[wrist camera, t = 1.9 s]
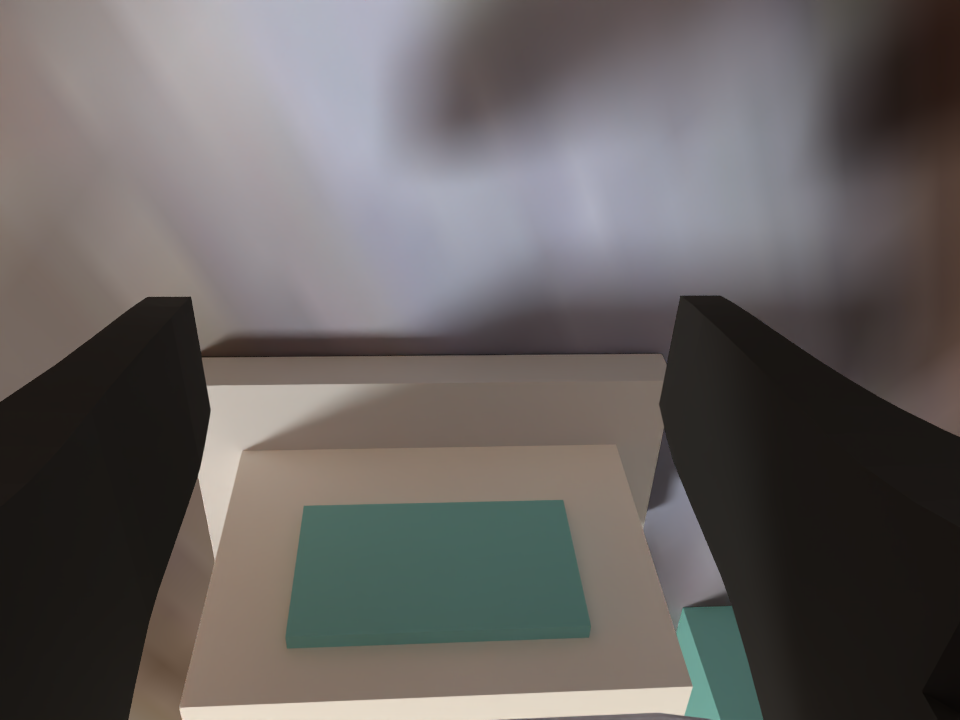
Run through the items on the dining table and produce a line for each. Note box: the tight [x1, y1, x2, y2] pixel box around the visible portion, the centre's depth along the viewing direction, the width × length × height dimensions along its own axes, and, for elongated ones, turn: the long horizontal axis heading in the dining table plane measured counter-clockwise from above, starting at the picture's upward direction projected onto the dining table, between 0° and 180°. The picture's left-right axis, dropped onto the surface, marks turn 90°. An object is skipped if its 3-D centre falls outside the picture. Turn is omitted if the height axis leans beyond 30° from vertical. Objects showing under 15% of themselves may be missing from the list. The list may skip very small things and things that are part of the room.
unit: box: [179, 354, 693, 720], centre depth 16 cm, size 10×5×7 cm, turn 88°
